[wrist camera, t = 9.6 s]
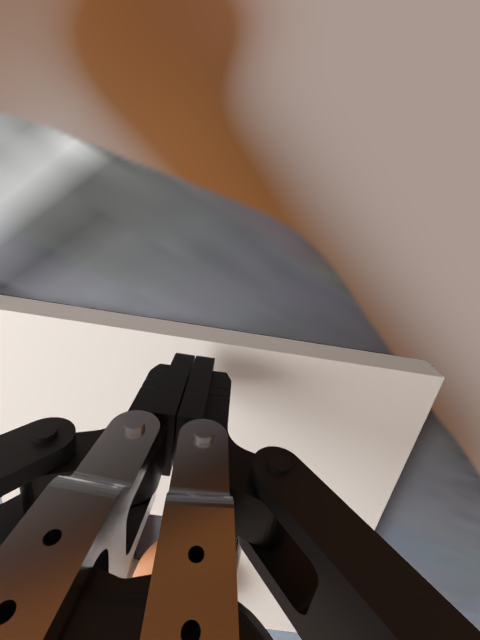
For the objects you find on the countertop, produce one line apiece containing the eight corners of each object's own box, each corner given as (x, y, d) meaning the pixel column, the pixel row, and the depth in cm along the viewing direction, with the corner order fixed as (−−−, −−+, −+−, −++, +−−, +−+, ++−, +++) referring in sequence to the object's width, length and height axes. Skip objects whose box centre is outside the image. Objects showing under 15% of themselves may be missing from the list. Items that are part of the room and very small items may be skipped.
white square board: (426, 360, 15) (445, 377, 13) (320, 608, 22) (325, 635, 21) (-4, 294, 14) (-32, 304, 13) (33, 571, 21) (18, 598, 20)
